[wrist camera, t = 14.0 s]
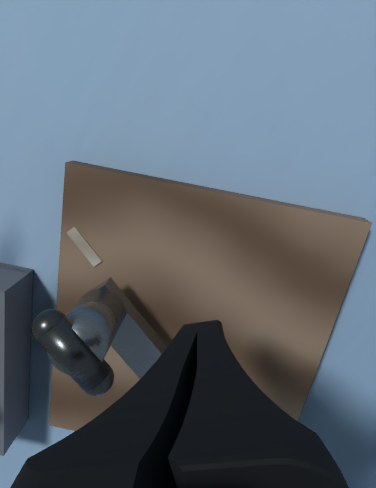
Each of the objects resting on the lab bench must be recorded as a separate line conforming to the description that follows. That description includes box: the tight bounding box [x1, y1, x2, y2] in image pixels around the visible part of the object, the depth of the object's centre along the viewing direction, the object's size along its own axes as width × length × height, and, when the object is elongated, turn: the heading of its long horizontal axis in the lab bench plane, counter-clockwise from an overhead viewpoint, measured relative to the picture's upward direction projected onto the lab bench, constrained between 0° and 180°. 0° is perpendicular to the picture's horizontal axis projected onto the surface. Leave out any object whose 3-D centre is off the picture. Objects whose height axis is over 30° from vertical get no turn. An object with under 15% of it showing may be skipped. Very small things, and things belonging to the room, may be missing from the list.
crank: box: [32, 277, 167, 396], centre depth 18 cm, size 16×4×6 cm, turn 35°
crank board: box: [49, 161, 372, 431], centre depth 21 cm, size 18×16×1 cm
